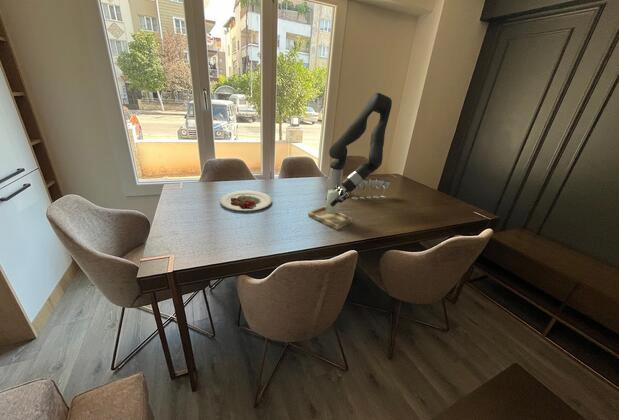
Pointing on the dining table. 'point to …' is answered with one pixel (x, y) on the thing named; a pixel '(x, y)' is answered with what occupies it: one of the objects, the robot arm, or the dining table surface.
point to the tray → (330, 218)
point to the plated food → (246, 200)
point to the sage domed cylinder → (330, 198)
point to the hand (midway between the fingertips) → (329, 202)
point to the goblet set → (372, 181)
